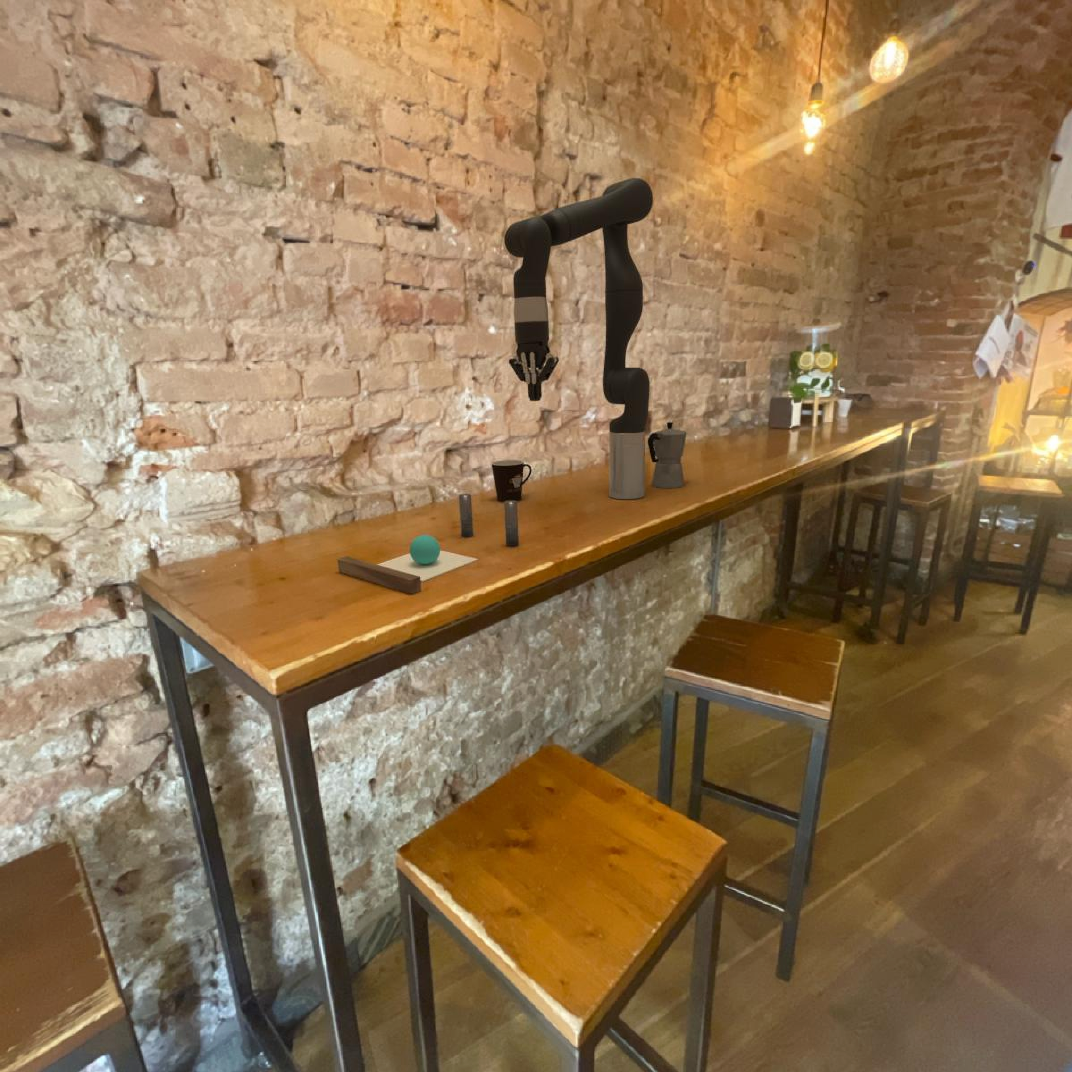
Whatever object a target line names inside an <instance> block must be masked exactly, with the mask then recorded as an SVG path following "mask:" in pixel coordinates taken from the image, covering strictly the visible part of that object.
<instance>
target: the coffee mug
mask: <svg viewBox="0 0 1072 1072" xmlns="http://www.w3.org/2000/svg"><path fill="white" fill-rule="evenodd" d="M525 467H528V470H529V472H528V475H527V476H526V478H525V479H523V478H524V468H525ZM491 468H492V475H493V476H492V477H493V480H494V482H493V483H494V487H495V493H496V499H497V501H498V502H499V503H504V502H505V501H511V500H512V501H517V502H519V501H521V500H522V493H523V485H524V484H525V483H526V482H527V481H528V480H529V479H530V476H532V471H533V470H532V466H531V465H530V464H526V463H525V461H524V460H518V459H503V460H496V461H493V462H491Z"/></svg>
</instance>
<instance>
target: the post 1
mask: <svg viewBox="0 0 1072 1072" xmlns="http://www.w3.org/2000/svg"><path fill="white" fill-rule="evenodd" d="M458 503H459V504H458V505H459V506H458V507H459V519H460V535H461V538H472V537H474V524H473V523H474V521H473V520H474V519H473V505H472V503H473V502H472V494H471V493H461V494H459V495H458Z"/></svg>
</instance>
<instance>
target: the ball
mask: <svg viewBox="0 0 1072 1072" xmlns="http://www.w3.org/2000/svg"><path fill="white" fill-rule="evenodd" d="M440 550H441V547H440V543H439V541H438V540H437V539H436V538H435V537H434V536H431V535H428V534H421V535H419V536H416V537H415V538H414V539H413V540H412V542H411V543H410V546H409V553H410V555H411V557H412V559H413V560H414V561H415V562H416V563H418V564H421V565H429V564H431V563H433V562H435V561H436V560H437V558H438V557H439V554H440Z"/></svg>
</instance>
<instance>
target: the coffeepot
mask: <svg viewBox="0 0 1072 1072" xmlns="http://www.w3.org/2000/svg"><path fill="white" fill-rule="evenodd" d="M673 424H674V423H673V422H672V421H669V422H666V425H667V428H665V429H662V430H661V429H660V430H658V431H655V432H652V433H651V434H650V435H649V436H648V438H647V445H648V450H649V455H650V459H651V462H652V463H655V466H654V470H653V476H652V480H651V486H653V487H654V486H655V488H657V487H658V488H659V489H667V488H668V489H669V490H670V489H678V488H679V489H680V488H683V487H684V485H685V479H684V478H685V477H684V471H683V470H684V469H683V465H682V464H683V463H681V461H682V457H683V456H684V455H683V454H684V450H685V449H684V448H685V444H686V440H687V439H686V437H687V434H688V432H686V431H683V430H679V429H675V428H673ZM682 486H683V487H682Z"/></svg>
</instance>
